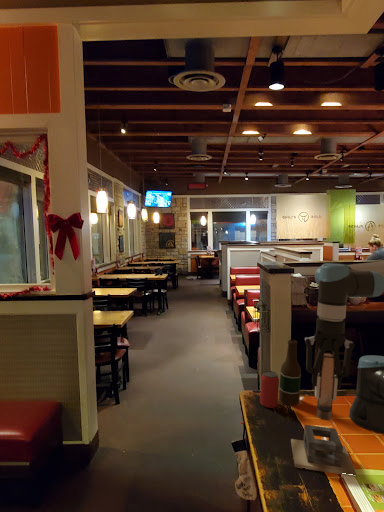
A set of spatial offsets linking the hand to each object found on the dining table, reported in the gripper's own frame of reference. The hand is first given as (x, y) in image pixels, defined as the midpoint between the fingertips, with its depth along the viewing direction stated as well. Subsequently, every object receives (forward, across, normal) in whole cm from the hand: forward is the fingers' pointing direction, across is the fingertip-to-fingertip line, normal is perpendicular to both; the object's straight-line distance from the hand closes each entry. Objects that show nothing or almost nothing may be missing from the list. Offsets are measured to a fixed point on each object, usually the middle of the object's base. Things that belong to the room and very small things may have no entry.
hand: (325, 397), depth 100 cm
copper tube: (+6, 0, 0) cm, 6 cm away
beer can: (+19, +14, -29) cm, 37 cm away
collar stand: (+18, 0, 0) cm, 18 cm away
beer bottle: (+19, +6, -34) cm, 39 cm away
